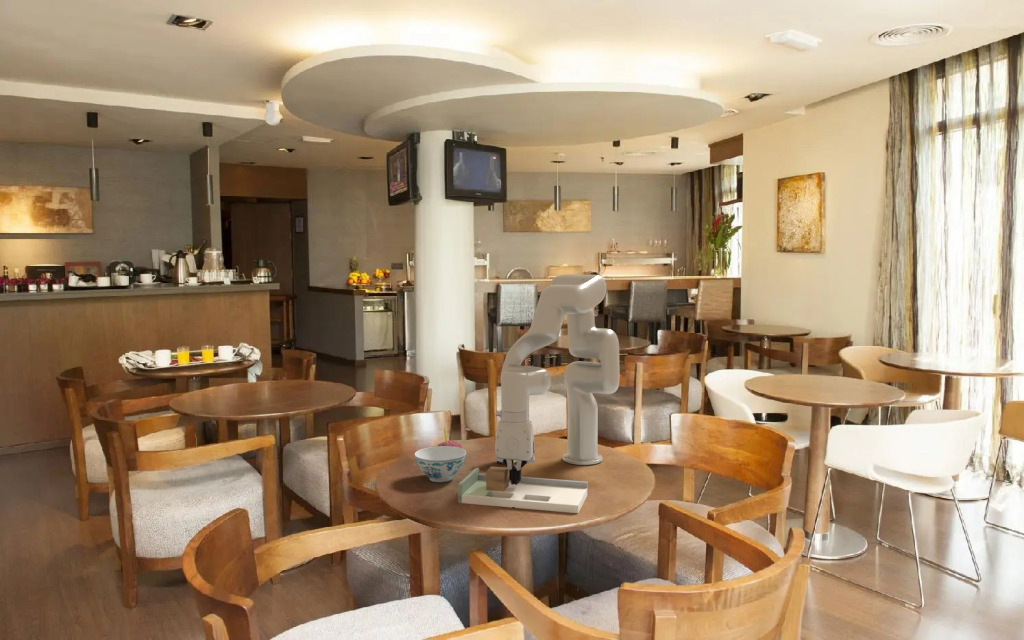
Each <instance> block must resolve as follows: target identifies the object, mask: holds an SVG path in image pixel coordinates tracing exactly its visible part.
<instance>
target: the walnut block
mask: <svg viewBox="0 0 1024 640" xmlns="http://www.w3.org/2000/svg"><path fill="white" fill-rule="evenodd" d="M485 474H486V490H494V491H505V490H506V488H507V487H508V486H509V469H508V467H507V466H506V467H503V466H490V467H489V468H488V469H487V470H486V471H485Z"/></svg>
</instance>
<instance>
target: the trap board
mask: <svg viewBox="0 0 1024 640" xmlns="http://www.w3.org/2000/svg"><path fill="white" fill-rule="evenodd" d="M588 493H589V482H588V481H583V480H572V479H571V480H569V479H559V478H558V479H556V478H545V477H531V476H530V477H529V476H528V477H527V476H521V481H519V483H518V484H517V485H515V484H513V485H512V484H511V480H509V486H508V487H507V488H506V490H505V491H494V490H486V473H480V468H478V467H475V468H474V469H473V470H472V471H470V472H469V474H467V475H466V476H465V477H464V478H463V479H462V480H461V481H460V482H459V483H458V484H457V503H458V504H466V505H467V504H468V505H478V506H479V505H481V506H489V507H490V506H492V507H502V508H512V507H515V508H514V509H523V510H535V511H536V510H538V511H547V512H549V511H550V512H557V513H558V512H559V513H568V514H569V513H570V514H579V513H580V511H581V509H582V507H583V505H584V503H585V501H586V499H587V498H588V496H589V495H588Z"/></svg>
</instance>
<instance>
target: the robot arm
mask: <svg viewBox="0 0 1024 640" xmlns="http://www.w3.org/2000/svg"><path fill="white" fill-rule="evenodd" d="M607 291H608V290H607V282H606V280H605V278H604V277H602V275H598V274H577V273H576V274H568V273H567V274H560V275H555V276H554V278H552V279H551V283H550V284H549V285H548V286H546V287H544V288H543V289H542V291H541V293H540V296H539V299H538V302H537V305H536V307H535V312H534V315H533V317H532V321H531V325H530V327H529V329H528V331H527V332H525V333H524V334H523V335H522V336H521V337H519V338H518V340H516V341H515V342H514V343H513V345H512V346H511V347H510V348H509V349H508V352H506V355H505V359H504V362H503V365H502V368H501V372H500V410H499V411H498V410H497V411H496V412H495V416H496V417H499V418H500V420H498V421H497V424H496V425H497V427H496V430H497V431H495V433H496V434H495V445H494V447H495V448H494V455H495V460H496V462H497V461H499V462H503V463H504V464H503V465H505V466H506V468H508V469H509V480H511V484H512V485H513V484H515V485H517V484H518V483H519V481H521V477H522V469H523V467H525V466H526V465H531V464H534V463H535V462H536V459H535V450H536V449H535V436H534V428H533V423H532V421H531V420H530V396H535V395H536V396H537V395H543V394H545V393H546V392H547V391H548V390H549V389H550V388H551V385H552V375H551V373H550V372H549V371H548V370H547V369H545V368H543V367H539V366H531V365H522V363H523V361H524V360H525V359H526V358H527V357H528V356H529V355H530V354H532V353H533V352H535V351H537V350H539V349H542V348H544V347H546V346H549V345H551V344H553V343H556V342H557V341H558V339H559V337H560V333H561V329H562V327H563V323H564V318H565V316H566V321H567V345H568V351H569V353H570V355H571V356H573V357H576V358H582V359H594V360H599V362H595V361H586V360H584V361H583V360H582V361H580V360H579V361H577V360H576V361H572V362H571V363H568V364H567V365H566V367H565V370H564V373H563V376H564V377H563V378H564V385H565V390H566V396H567V397H566V398H567V401H566V402H567V452H566V453H564V454H563V455H562V460H563V461H564V462H566V463H568V464H571V465H578V466H588V465H589V466H591V465H596V464H599V463H601V462H603V456H602V454H600V453H598V436H599V435H598V430H599V429H598V427H599V426H598V425H599V424H598V423H599V422H598V414H599V413H598V411H599V410H598V403H597V400H596V398H595V396H594V395H593V394H601V395H612V394H614V393H616V392H617V390H618V389H619V386H620V381H621V378H620V374H621V373H620V343H619V342H620V341H619V338H618V335H617V333H616V332H615V331H614V330H612V329H609V328H604V327H603V328H602V327H601V328H599V327H596V324H595V323H596V321H595V311H594V308H595V307H596V306H598V305H599V304H600V303H602V301H603V300H604V299H605V296H606V294H607ZM514 460H517V464H515V465H516V466H515V465H514Z"/></svg>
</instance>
